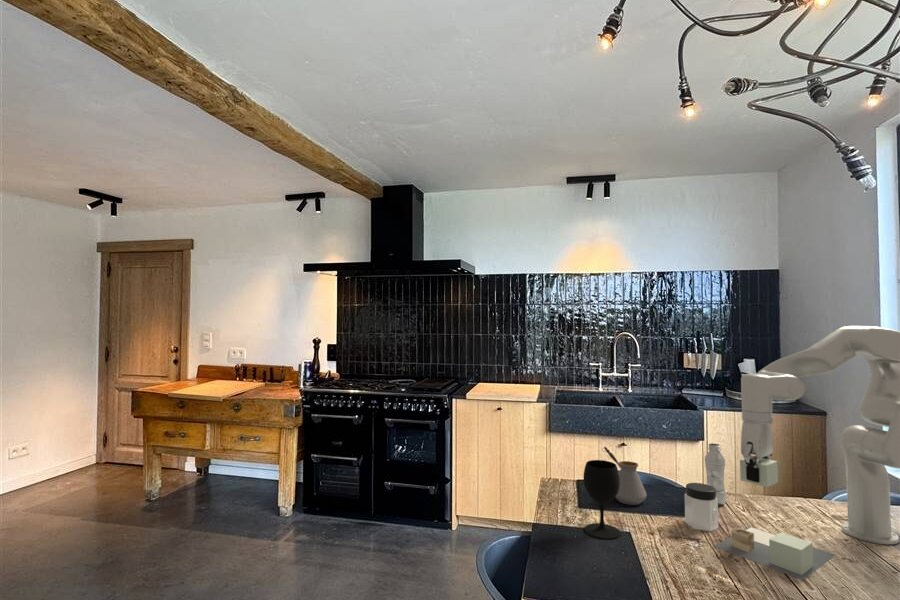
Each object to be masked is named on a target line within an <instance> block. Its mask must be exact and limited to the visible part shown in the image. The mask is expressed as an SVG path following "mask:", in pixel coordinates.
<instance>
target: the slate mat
mask: <svg viewBox="0 0 900 600" xmlns="http://www.w3.org/2000/svg"><path fill="white" fill-rule="evenodd" d="M744 530H746V531H749V532H752V533H754V549H752V550H750V551H749V552H746V551H743V550H740V549H738V548H735V547H732V535H731V536H729V537H727V538H726V539H723V540H722V541H720V542H718V543H716V544H715V545H713V547H714V548H718V549H720V550H722V551H725V552H728V553H730V554H734V555H736V556H738V557H742V559H743V558H744V559H746V560H748V561H751V562H754V563H757V564H759V565H762V566H764V567H767V568H770V569H772V570H775V571H777V572H781V573H782V574H786V575H788V576H791V577H793V578H796V579H798V580H801V581H804V580H805V579H807V578H808V577H809V576H811V575H812V574H813V573H815V572H816V571H817V570H818V569H819V568H821V567H822V566H824V565H825V564H826V563H827V562H829V560H831V559H832V558H834V557H835V556H836V555H837V554H835V553H832V552H829V551H826V550H823V549H820V548H817V547H813V546H812V547H813V567H812V568H811V569H810V570H808V571H807V572H806V573H804V574H803V575H800V574H798V573H795V572H792V571H790V570H787V569H784V568H782V567H779V566H776V565H774V564H771V563H770V546H769V539H771V538H772V537H774V536H776V535H777V534H774V533H771V532H767V531H765V530H762V529H759V528H756V527H753V526H748V527H747V528H745V529H744Z"/></svg>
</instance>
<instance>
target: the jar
mask: <svg viewBox="0 0 900 600" xmlns="http://www.w3.org/2000/svg"><path fill="white" fill-rule="evenodd" d="M718 506H719V505H718V499H717V498H716V489H715V488H714V487H712V486H710V485H707V483H702V482H689V483H686V484H685V493H684V523H685V524H686V525H688V526H689V527H691V528H692V529H694V530H700V531H706V532H712V531H716V530H717V529H719V511H718V510H719V507H718Z"/></svg>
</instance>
